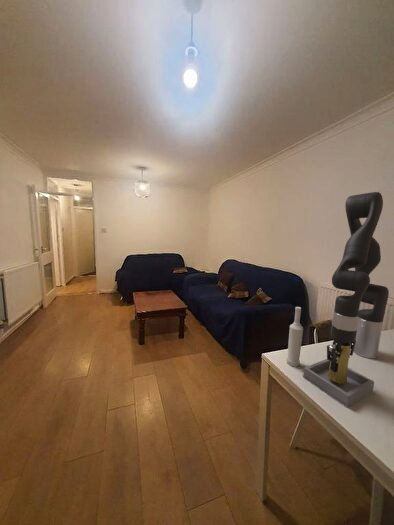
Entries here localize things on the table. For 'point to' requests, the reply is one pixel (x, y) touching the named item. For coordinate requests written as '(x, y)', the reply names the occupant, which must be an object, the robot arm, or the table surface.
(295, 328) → the bottle
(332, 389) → the bin
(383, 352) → the table surface
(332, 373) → the vase
